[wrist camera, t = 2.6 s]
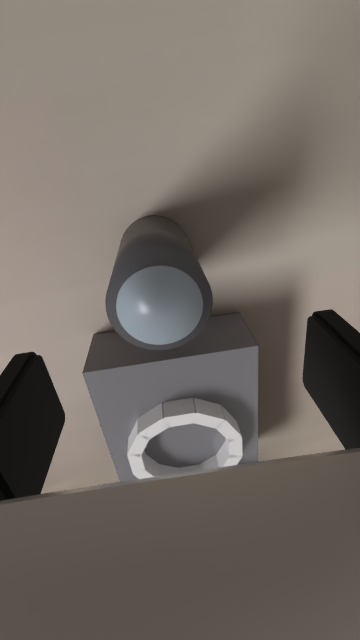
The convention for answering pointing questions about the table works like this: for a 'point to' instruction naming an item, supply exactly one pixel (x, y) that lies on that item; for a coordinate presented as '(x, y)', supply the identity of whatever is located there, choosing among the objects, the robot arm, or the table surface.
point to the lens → (157, 287)
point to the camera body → (177, 400)
